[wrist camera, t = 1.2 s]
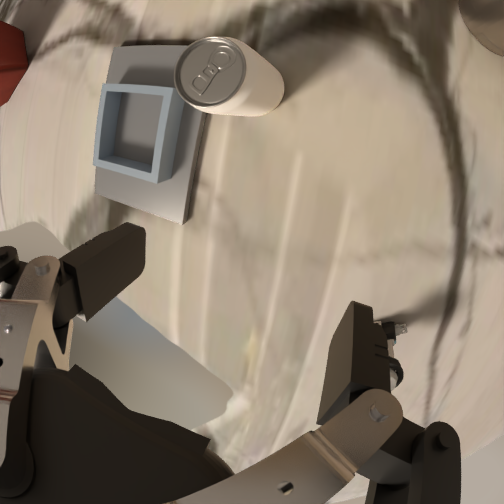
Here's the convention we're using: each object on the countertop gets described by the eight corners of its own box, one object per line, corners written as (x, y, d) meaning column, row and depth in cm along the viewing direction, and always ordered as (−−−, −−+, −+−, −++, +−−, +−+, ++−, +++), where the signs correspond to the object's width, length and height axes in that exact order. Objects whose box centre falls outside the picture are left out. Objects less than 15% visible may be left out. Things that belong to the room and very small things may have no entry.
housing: (119, 48, 28) (98, 44, 25) (222, 50, 26) (206, 41, 22) (100, 191, 39) (80, 198, 35) (186, 221, 37) (169, 233, 33)
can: (298, 87, 26) (272, 64, 16) (256, 128, 29) (209, 131, 19) (254, 51, 25) (207, 16, 15) (216, 92, 28) (154, 81, 18)
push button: (404, 307, 32) (416, 363, 24) (406, 338, 34) (414, 393, 25) (355, 317, 35) (354, 373, 26) (361, 346, 37) (359, 402, 28)
